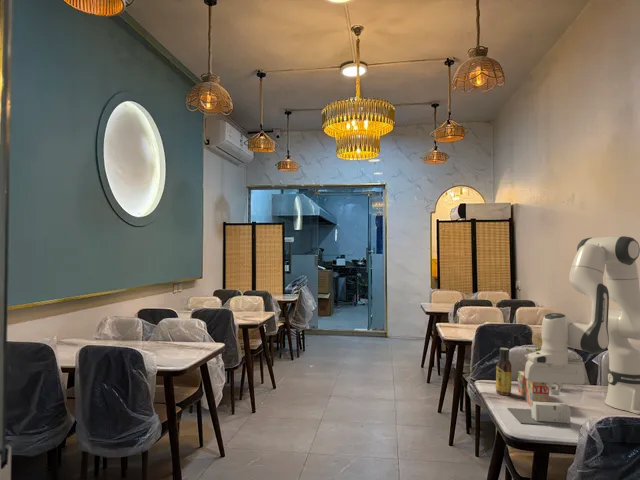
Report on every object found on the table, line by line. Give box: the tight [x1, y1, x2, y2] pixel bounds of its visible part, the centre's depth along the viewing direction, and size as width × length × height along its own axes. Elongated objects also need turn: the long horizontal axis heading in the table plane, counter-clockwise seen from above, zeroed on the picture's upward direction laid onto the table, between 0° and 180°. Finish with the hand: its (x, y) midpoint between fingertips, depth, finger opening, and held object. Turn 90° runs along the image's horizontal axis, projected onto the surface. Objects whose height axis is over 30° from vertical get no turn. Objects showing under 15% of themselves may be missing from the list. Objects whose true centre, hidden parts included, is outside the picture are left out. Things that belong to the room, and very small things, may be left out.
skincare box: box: [530, 401, 572, 424], centre depth 155 cm, size 6×4×12 cm
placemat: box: [506, 407, 572, 428], centre depth 158 cm, size 17×15×1 cm
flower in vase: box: [517, 332, 542, 381], centre depth 200 cm, size 13×11×25 cm
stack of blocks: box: [517, 369, 550, 408], centre depth 179 cm, size 21×6×12 cm, turn 169°
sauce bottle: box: [495, 347, 513, 396], centre depth 186 cm, size 7×6×20 cm
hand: (554, 394), depth 157 cm, fingers closed
